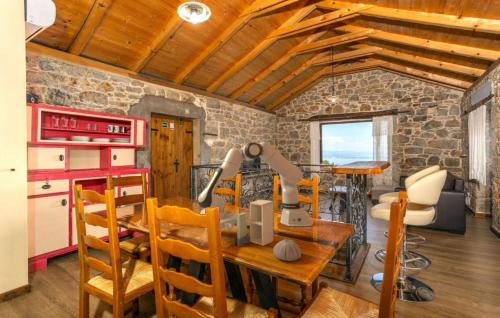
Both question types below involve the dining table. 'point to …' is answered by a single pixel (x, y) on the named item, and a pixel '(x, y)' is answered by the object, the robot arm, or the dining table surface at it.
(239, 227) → the door
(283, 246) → the sea urchin shell
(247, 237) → the cabinet
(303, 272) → the dining table surface
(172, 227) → the dining table surface
